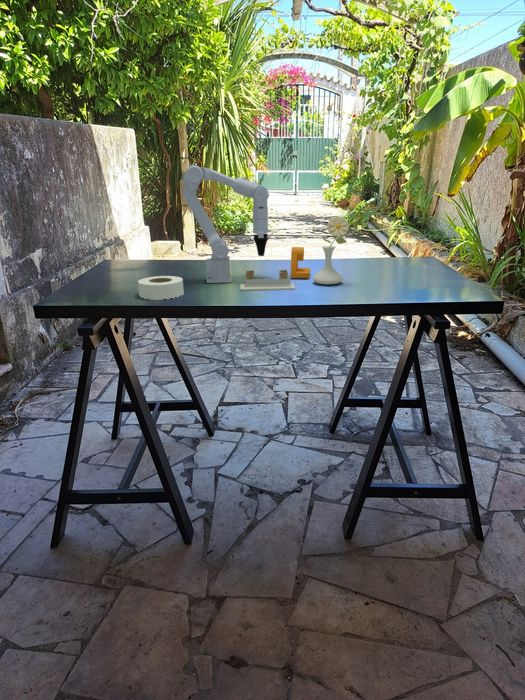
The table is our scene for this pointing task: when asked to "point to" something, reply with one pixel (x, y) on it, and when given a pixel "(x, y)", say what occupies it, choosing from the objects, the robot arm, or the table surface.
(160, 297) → the roll of tape
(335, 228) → the flower in vase
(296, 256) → the bracket
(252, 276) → the post left
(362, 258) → the table surface
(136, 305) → the table surface
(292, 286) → the mat
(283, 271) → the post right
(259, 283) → the rail
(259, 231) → the robot arm
